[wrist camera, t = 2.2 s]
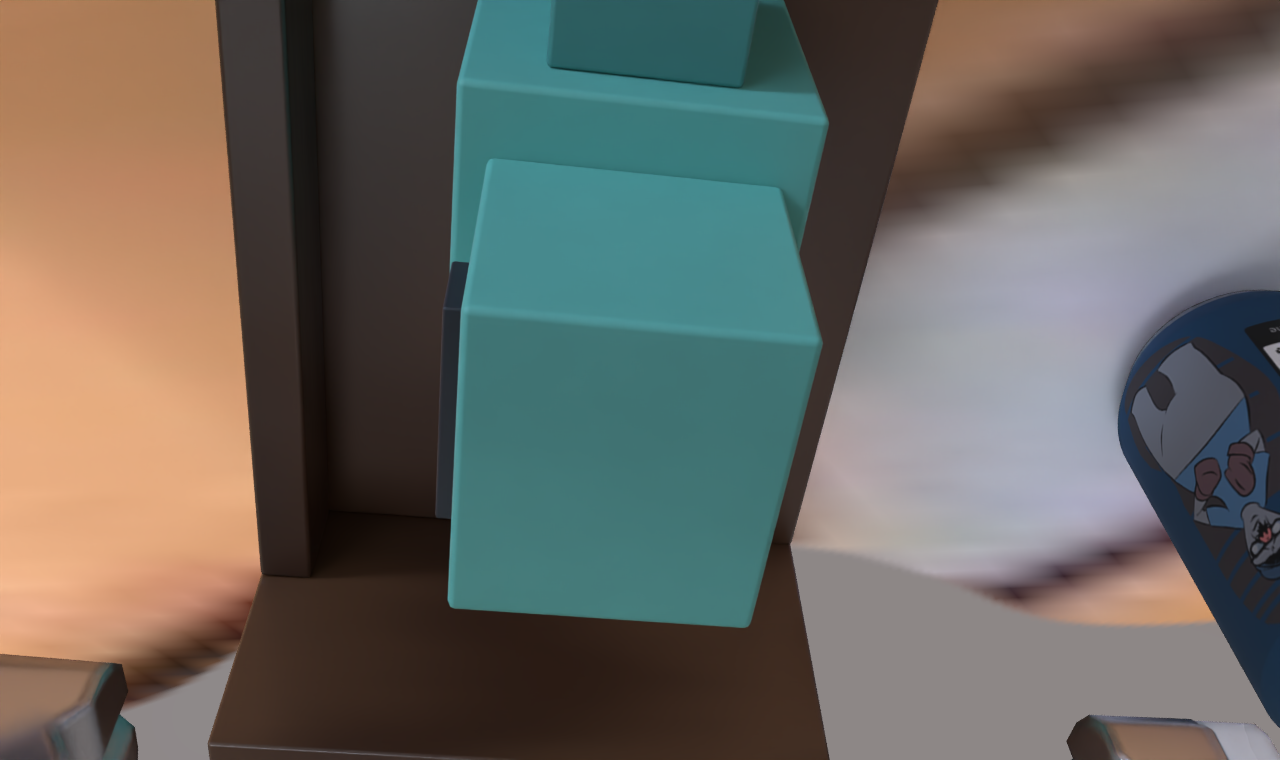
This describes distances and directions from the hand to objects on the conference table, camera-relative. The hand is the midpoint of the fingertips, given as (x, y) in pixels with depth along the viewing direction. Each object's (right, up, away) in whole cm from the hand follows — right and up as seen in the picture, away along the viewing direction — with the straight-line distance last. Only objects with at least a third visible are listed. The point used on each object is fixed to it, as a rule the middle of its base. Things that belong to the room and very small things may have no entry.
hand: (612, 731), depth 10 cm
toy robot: (0, +7, +10) cm, 13 cm away
